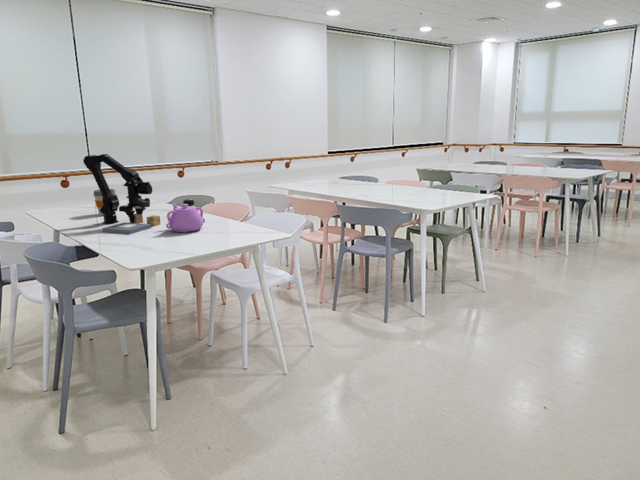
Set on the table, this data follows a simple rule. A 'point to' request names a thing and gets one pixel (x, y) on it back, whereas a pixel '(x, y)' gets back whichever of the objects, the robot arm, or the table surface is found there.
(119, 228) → the board
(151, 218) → the ochre block
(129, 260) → the table surface
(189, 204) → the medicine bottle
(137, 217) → the walnut block
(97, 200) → the reusable coffee cup
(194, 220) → the teapot
